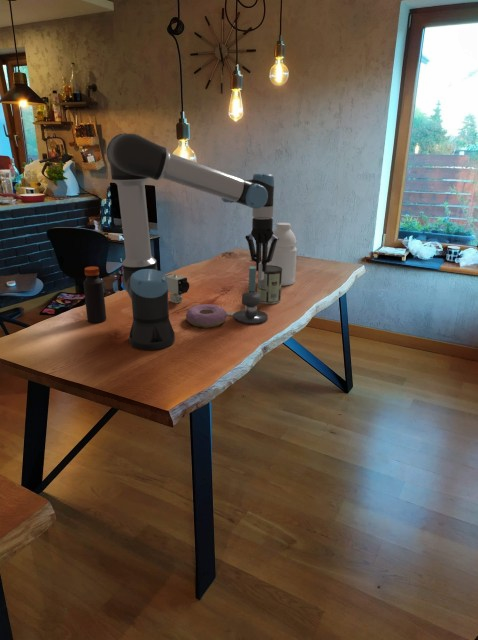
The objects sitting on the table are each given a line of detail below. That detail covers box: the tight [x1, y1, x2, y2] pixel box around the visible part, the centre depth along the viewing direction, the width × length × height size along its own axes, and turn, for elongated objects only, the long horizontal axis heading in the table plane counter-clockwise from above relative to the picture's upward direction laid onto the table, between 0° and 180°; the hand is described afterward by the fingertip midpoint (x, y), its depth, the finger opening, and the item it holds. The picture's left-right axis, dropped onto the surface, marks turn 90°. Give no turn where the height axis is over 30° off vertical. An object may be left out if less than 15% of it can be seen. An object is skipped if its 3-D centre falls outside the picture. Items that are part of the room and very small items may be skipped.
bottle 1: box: [82, 266, 107, 324], centre depth 166 cm, size 7×7×20 cm
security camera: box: [165, 273, 190, 304], centre depth 188 cm, size 6×12×12 cm, turn 53°
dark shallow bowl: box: [226, 305, 269, 326], centre depth 174 cm, size 13×16×6 cm
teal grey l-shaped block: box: [241, 265, 261, 306], centre depth 173 cm, size 14×7×12 cm, turn 176°
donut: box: [185, 303, 228, 329], centre depth 170 cm, size 16×15×5 cm
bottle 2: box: [267, 222, 298, 287], centre depth 214 cm, size 14×14×28 cm
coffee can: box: [256, 265, 282, 305], centre depth 192 cm, size 10×10×14 cm
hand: (261, 279), depth 175 cm, fingers closed
